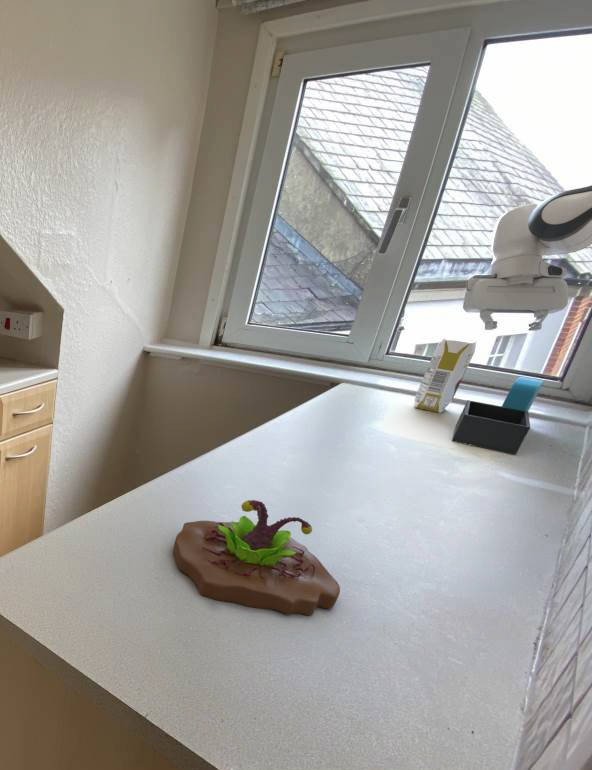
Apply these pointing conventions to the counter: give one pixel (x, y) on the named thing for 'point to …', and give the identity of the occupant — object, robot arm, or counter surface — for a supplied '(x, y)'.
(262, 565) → the plant
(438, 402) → the juice carton
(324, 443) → the counter surface
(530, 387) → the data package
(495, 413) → the box
